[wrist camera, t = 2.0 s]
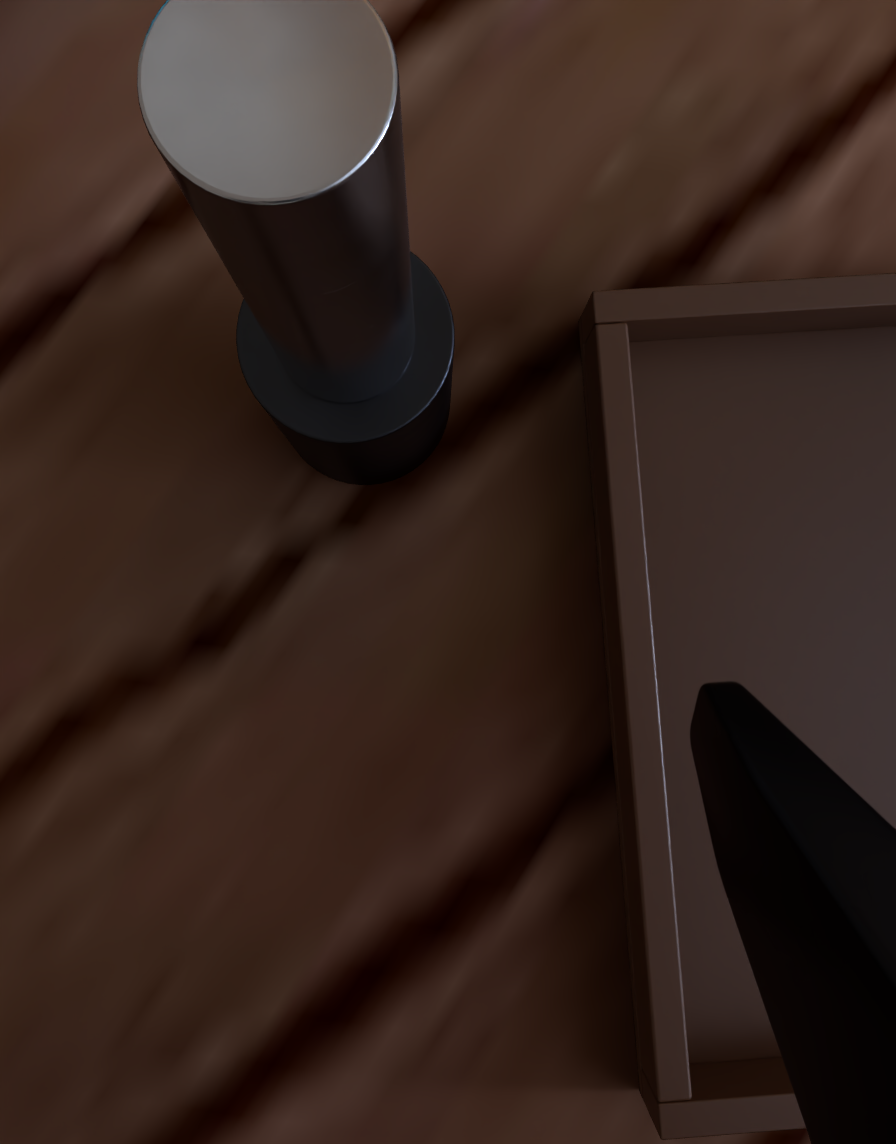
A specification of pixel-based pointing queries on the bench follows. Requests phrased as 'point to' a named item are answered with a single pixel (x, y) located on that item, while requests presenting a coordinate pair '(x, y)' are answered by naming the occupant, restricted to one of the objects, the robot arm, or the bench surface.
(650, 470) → the tray
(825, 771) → the robot arm
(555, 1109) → the bench surface
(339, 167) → the dark cylinder
